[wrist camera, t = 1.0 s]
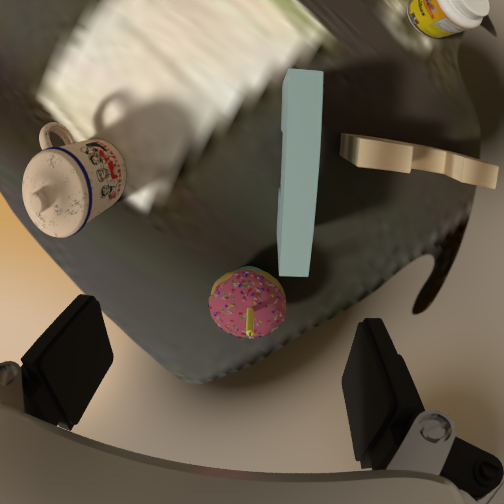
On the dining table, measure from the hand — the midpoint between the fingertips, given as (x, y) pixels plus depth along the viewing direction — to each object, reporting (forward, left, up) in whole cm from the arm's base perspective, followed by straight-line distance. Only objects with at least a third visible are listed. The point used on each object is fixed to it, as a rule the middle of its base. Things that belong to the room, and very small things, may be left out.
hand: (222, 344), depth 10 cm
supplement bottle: (-22, +19, -24) cm, 38 cm away
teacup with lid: (-3, -19, -24) cm, 31 cm away
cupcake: (+12, 0, -24) cm, 27 cm away
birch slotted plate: (-5, +17, -24) cm, 30 cm away
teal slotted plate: (-3, +4, -24) cm, 24 cm away
